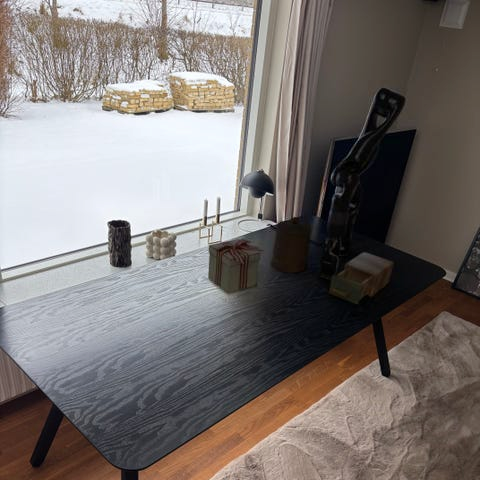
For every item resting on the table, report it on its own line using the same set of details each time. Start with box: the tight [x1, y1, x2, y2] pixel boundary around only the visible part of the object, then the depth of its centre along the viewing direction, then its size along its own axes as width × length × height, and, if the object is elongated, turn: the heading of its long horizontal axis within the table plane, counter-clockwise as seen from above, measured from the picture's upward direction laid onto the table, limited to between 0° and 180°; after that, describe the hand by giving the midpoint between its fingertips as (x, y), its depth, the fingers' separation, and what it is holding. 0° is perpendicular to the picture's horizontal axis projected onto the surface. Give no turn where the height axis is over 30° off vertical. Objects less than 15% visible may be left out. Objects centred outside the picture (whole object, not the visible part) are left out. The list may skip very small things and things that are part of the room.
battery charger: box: [319, 253, 340, 283], centre depth 200 cm, size 7×4×11 cm, turn 49°
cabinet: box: [343, 251, 395, 298], centre depth 200 cm, size 17×14×10 cm
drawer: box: [328, 267, 374, 305], centre depth 189 cm, size 22×13×8 cm, turn 141°
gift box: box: [207, 238, 264, 294], centre depth 191 cm, size 17×18×17 cm
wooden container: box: [271, 216, 312, 273], centre depth 207 cm, size 15×15×22 cm
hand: (331, 258), depth 198 cm, fingers open, 8 cm apart
